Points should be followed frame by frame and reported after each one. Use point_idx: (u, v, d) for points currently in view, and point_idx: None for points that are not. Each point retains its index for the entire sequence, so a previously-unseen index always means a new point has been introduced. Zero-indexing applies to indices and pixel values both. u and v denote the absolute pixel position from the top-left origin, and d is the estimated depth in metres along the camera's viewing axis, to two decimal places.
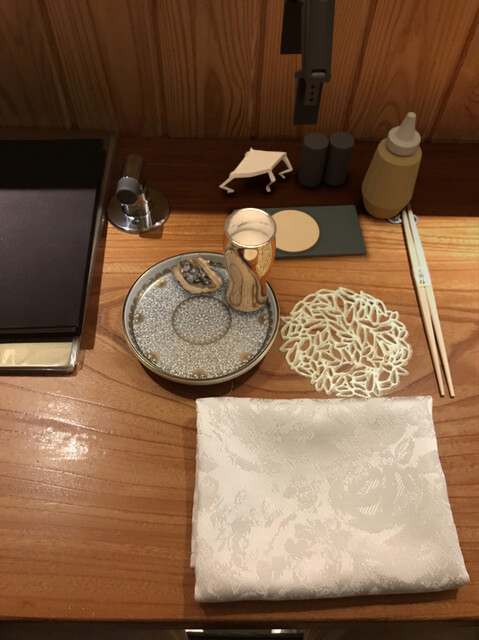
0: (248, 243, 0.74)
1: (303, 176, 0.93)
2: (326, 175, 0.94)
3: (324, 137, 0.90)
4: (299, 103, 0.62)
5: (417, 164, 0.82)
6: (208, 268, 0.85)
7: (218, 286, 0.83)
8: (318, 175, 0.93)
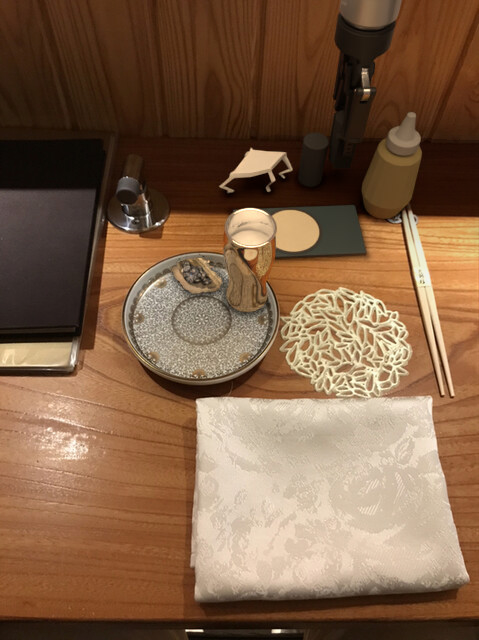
0: (248, 243, 0.74)
1: (303, 176, 0.93)
2: (333, 156, 0.90)
3: (324, 137, 0.90)
4: (338, 154, 0.88)
5: (417, 164, 0.82)
6: (208, 268, 0.85)
7: (218, 286, 0.83)
8: (318, 175, 0.93)
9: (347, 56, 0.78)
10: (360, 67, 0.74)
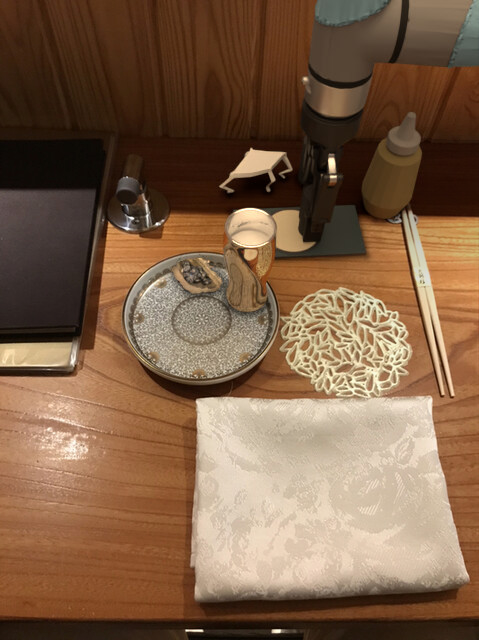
0: (248, 243, 0.74)
1: (303, 176, 0.93)
2: (302, 228, 0.87)
3: None
4: (307, 229, 0.85)
5: (417, 164, 0.82)
6: (208, 268, 0.85)
7: (218, 286, 0.83)
8: None
9: None
10: (326, 153, 0.71)
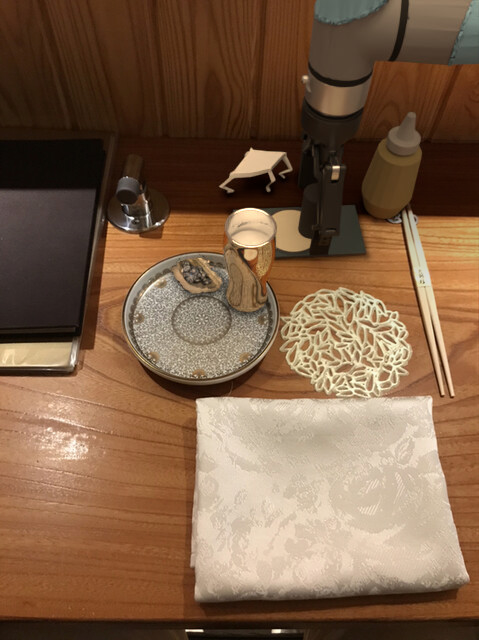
0: (248, 243, 0.74)
1: None
2: (302, 228, 0.87)
3: None
4: (314, 242, 0.80)
5: (417, 164, 0.82)
6: (208, 268, 0.85)
7: (218, 286, 0.83)
8: None
9: None
10: (327, 152, 0.71)
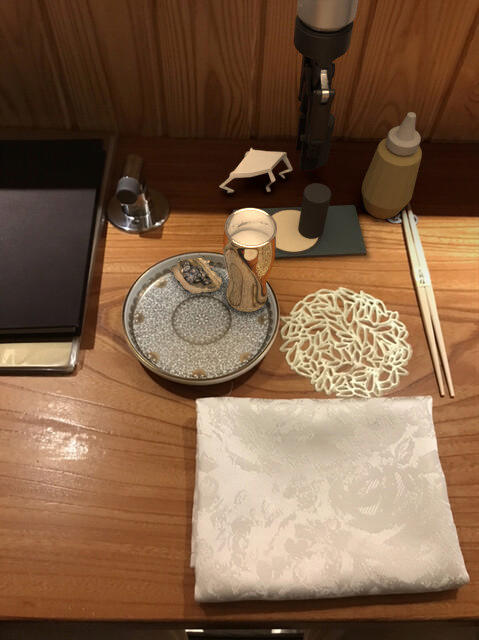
0: (248, 243, 0.74)
1: None
2: (302, 228, 0.87)
3: (330, 115, 0.86)
4: (304, 156, 0.88)
5: (417, 164, 0.82)
6: (209, 268, 0.85)
7: (218, 286, 0.83)
8: (324, 155, 0.89)
9: (308, 58, 0.78)
10: (319, 69, 0.74)
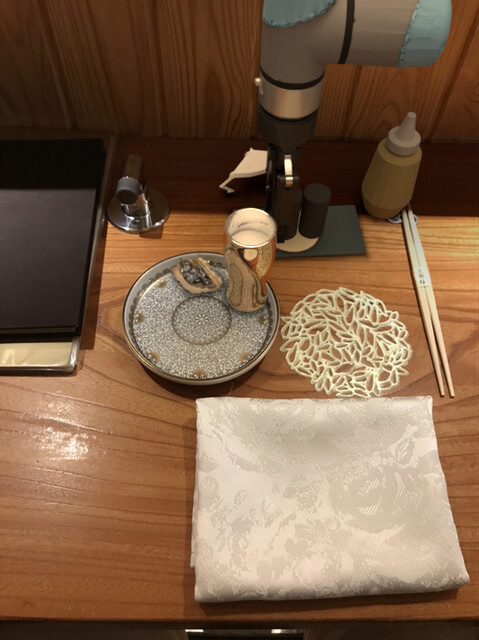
0: (248, 243, 0.74)
1: None
2: (302, 228, 0.87)
3: (298, 190, 0.82)
4: None
5: (417, 164, 0.82)
6: (209, 268, 0.85)
7: (218, 286, 0.83)
8: (292, 229, 0.86)
9: None
10: (282, 154, 0.70)
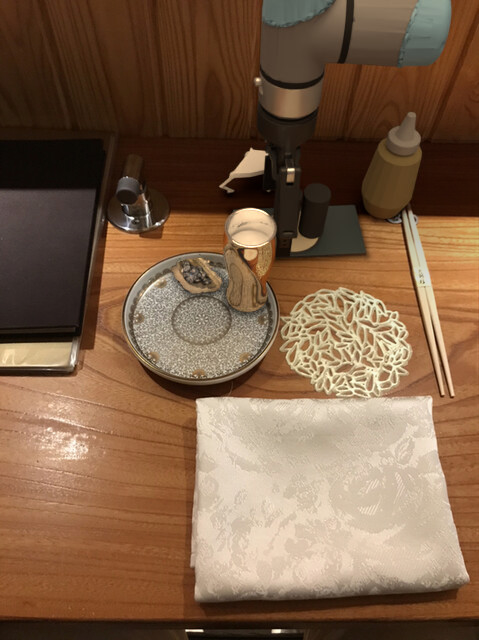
0: (248, 243, 0.74)
1: None
2: (302, 228, 0.87)
3: None
4: None
5: (417, 164, 0.82)
6: (209, 268, 0.85)
7: (218, 286, 0.83)
8: None
9: None
10: (282, 154, 0.70)
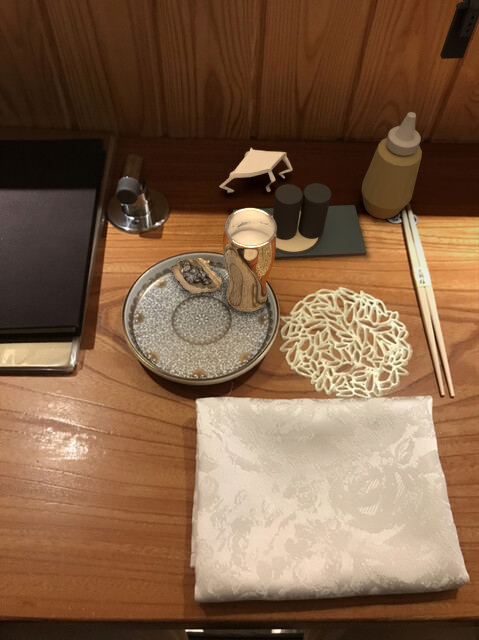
0: (248, 243, 0.74)
1: (277, 229, 0.86)
2: (302, 228, 0.87)
3: (298, 189, 0.82)
4: (452, 36, 0.67)
5: (417, 164, 0.82)
6: (209, 268, 0.85)
7: (218, 286, 0.83)
8: (292, 228, 0.86)
9: None
10: None
